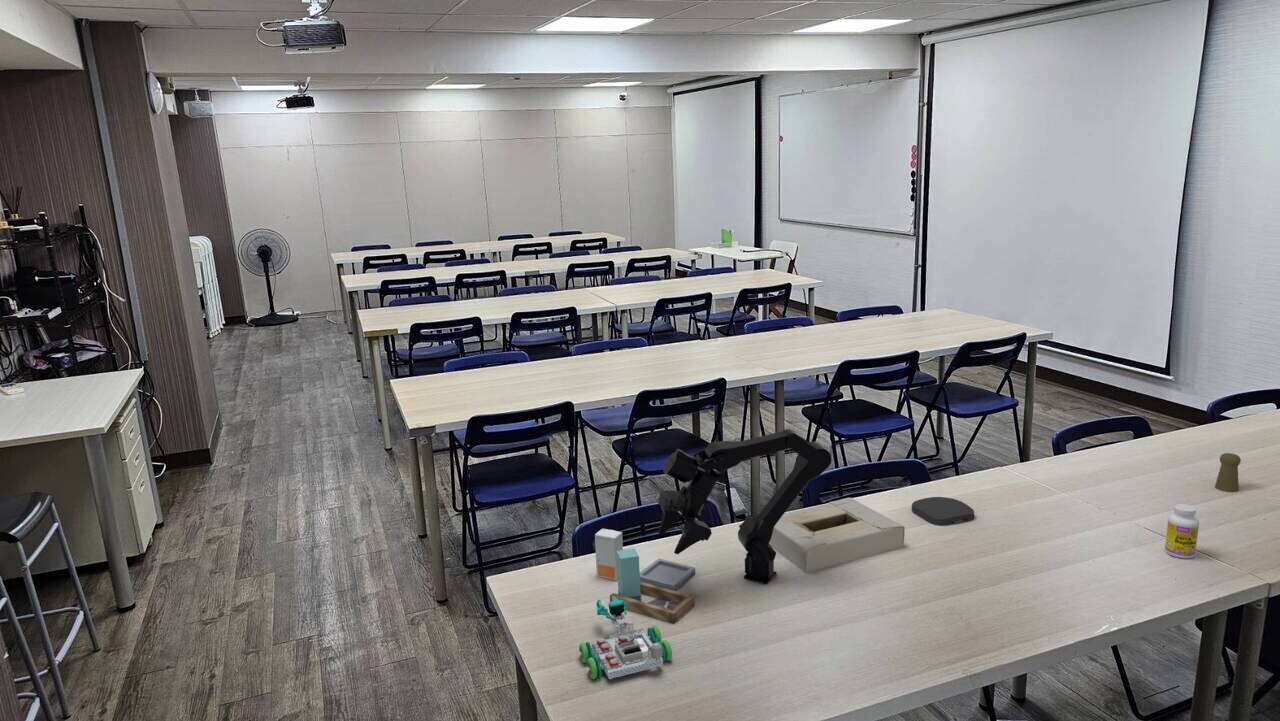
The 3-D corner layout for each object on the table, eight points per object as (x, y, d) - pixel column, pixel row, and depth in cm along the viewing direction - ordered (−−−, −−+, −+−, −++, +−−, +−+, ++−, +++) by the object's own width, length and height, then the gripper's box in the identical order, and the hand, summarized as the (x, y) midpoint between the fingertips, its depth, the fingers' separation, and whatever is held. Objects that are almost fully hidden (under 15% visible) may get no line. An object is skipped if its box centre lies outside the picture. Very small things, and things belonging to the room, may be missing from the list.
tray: (695, 574, 216) (695, 567, 216) (673, 593, 207) (673, 585, 207) (659, 565, 222) (658, 558, 222) (636, 582, 213) (635, 575, 213)
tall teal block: (636, 592, 208) (634, 548, 205) (641, 601, 204) (639, 556, 201) (618, 595, 207) (616, 550, 204) (622, 604, 203) (620, 558, 200)
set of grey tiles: (688, 607, 200) (688, 603, 200) (673, 620, 194) (673, 616, 194) (656, 598, 205) (656, 595, 204) (641, 611, 199) (641, 607, 199)
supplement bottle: (1169, 558, 214) (1174, 511, 211) (1160, 547, 221) (1165, 501, 218) (1199, 560, 213) (1204, 513, 210) (1189, 549, 219) (1194, 503, 216)
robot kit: (639, 614, 199) (638, 577, 196) (679, 670, 176) (678, 630, 173) (563, 630, 193) (561, 593, 191) (594, 691, 170) (592, 650, 168)
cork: (1218, 491, 255) (1222, 457, 253) (1211, 484, 261) (1215, 450, 258) (1241, 492, 253) (1246, 458, 251) (1234, 485, 259) (1238, 451, 256)
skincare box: (596, 577, 217) (593, 534, 214) (604, 570, 221) (602, 527, 218) (616, 581, 214) (614, 538, 212) (624, 574, 218) (622, 531, 215)
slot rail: (694, 605, 201) (693, 596, 200) (674, 623, 193) (673, 613, 193) (631, 587, 210) (631, 578, 210) (610, 604, 203) (609, 595, 202)
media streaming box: (906, 509, 252) (906, 500, 251) (947, 502, 256) (947, 493, 255) (936, 528, 238) (937, 518, 237) (979, 520, 242) (980, 510, 242)
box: (806, 576, 214) (905, 548, 227) (806, 548, 213) (905, 522, 225) (758, 543, 235) (850, 519, 247) (757, 517, 233) (850, 494, 246)
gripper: (657, 463, 210) (627, 516, 211) (690, 497, 194) (657, 554, 195) (691, 477, 215) (662, 529, 217) (726, 511, 199) (694, 567, 201)
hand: (667, 544), depth 207 cm, fingers open, 9 cm apart
